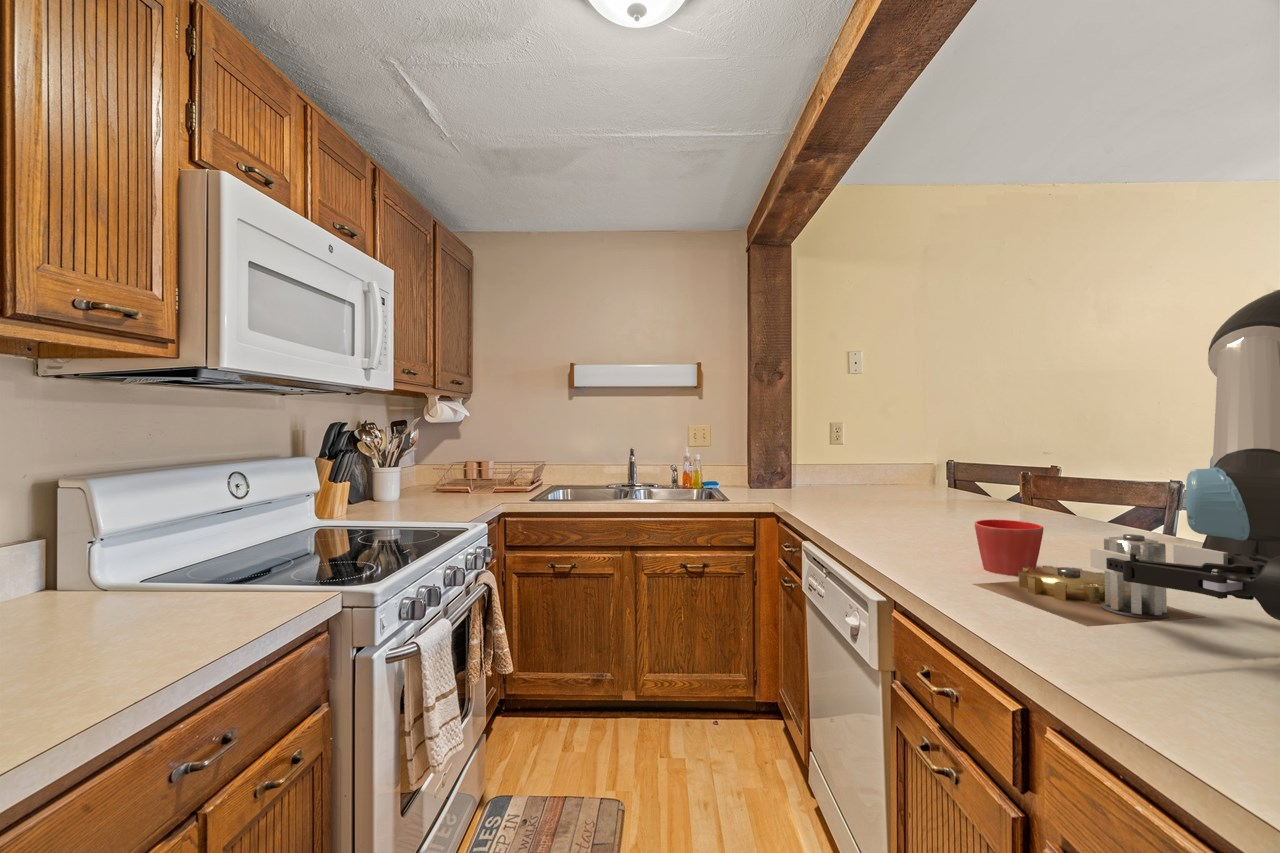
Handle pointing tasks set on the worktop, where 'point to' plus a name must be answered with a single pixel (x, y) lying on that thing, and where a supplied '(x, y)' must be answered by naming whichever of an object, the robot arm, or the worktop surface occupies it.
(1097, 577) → the brass gear
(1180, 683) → the worktop surface
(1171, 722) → the worktop surface
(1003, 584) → the gear board
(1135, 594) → the grey pinion
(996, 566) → the flower pot
